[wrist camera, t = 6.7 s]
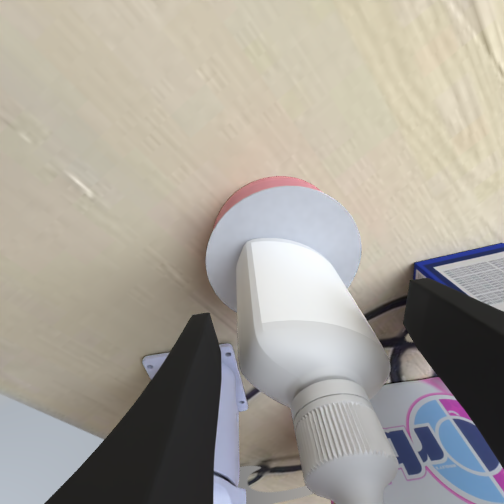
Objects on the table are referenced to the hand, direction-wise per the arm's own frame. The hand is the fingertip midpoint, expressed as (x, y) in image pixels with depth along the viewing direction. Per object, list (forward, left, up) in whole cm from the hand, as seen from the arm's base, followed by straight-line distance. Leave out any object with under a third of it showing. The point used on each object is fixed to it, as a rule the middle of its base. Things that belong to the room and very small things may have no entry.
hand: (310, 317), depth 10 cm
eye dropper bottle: (-2, 0, -7) cm, 7 cm away
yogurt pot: (-2, 0, -10) cm, 10 cm away
